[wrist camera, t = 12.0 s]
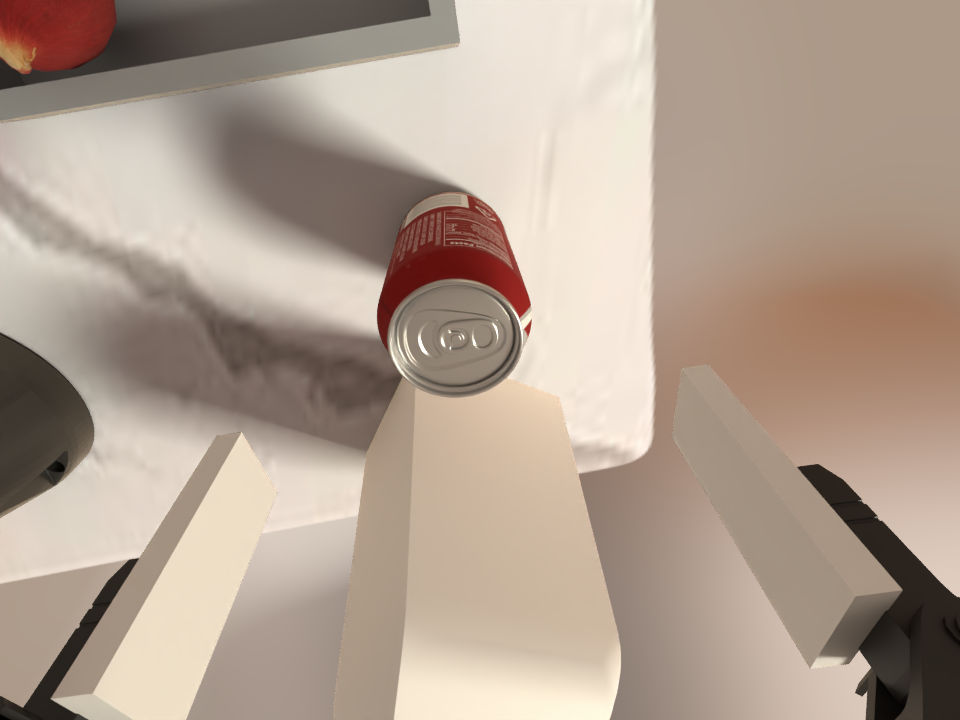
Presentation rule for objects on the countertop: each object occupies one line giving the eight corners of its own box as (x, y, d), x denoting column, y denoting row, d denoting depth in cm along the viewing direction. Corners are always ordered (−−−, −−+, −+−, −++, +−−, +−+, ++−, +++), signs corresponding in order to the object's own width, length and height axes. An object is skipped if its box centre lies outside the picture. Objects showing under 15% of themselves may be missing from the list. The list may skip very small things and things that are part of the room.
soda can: (389, 192, 26) (354, 272, 16) (504, 184, 26) (541, 258, 16) (406, 297, 30) (386, 415, 20) (507, 290, 30) (537, 402, 20)
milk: (558, 396, 35) (737, 920, 14) (493, 487, 41) (547, 964, 19) (417, 345, 32) (356, 939, 10) (366, 452, 37) (257, 986, 16)
